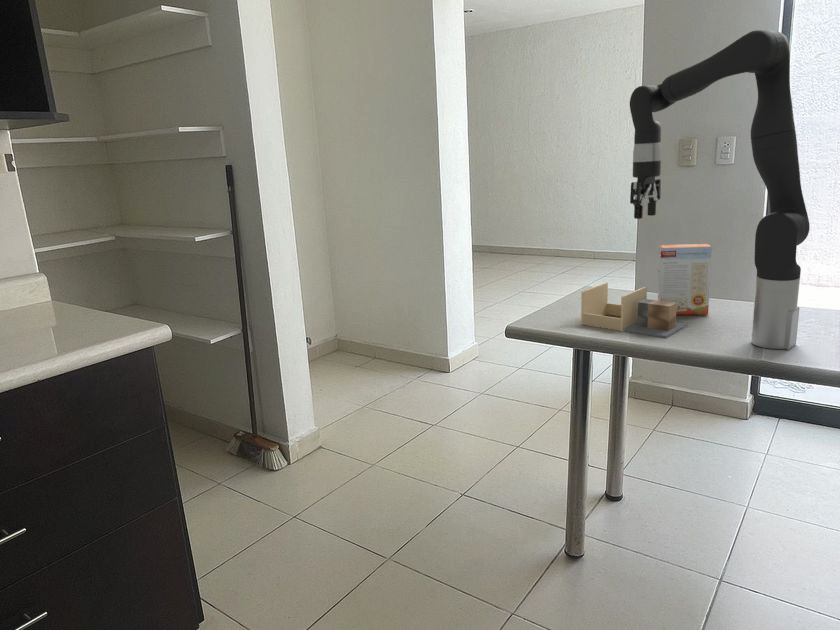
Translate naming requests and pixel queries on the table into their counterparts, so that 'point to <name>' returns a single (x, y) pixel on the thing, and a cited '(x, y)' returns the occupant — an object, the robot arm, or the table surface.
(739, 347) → the table surface
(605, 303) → the open wooden box
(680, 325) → the rubber mat
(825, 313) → the table surface
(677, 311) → the cracker box
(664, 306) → the box
